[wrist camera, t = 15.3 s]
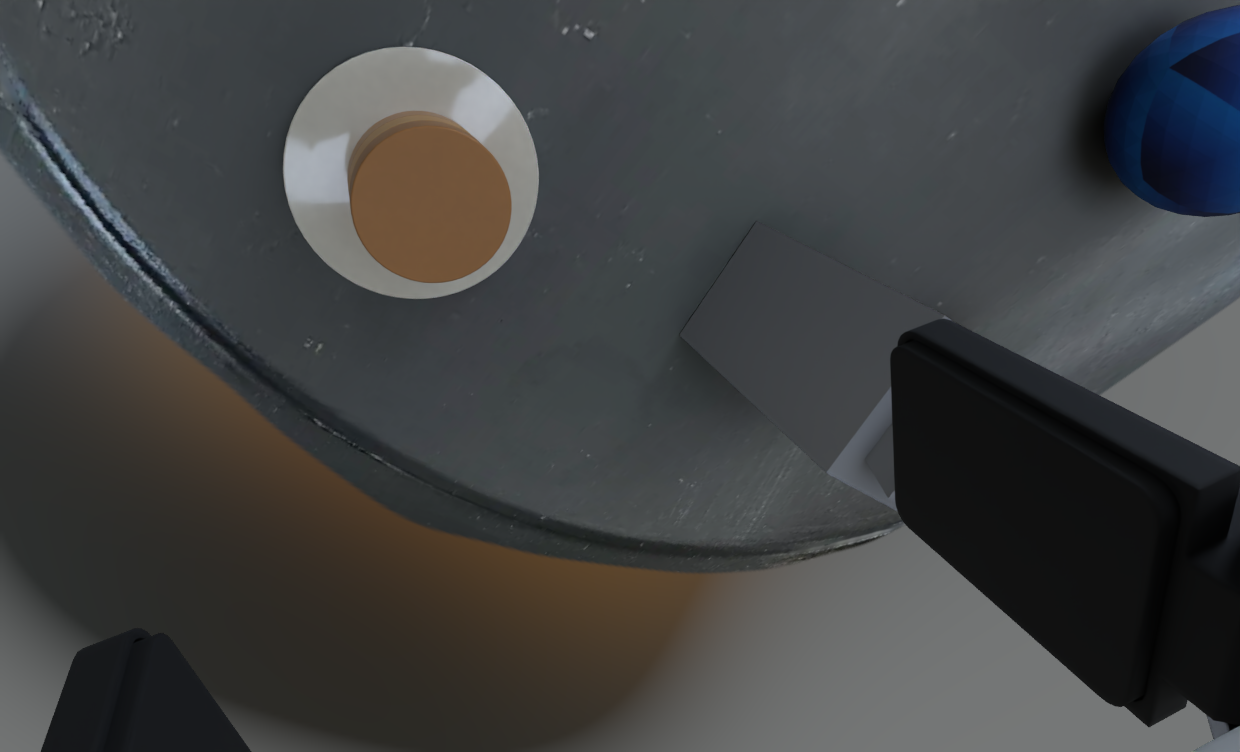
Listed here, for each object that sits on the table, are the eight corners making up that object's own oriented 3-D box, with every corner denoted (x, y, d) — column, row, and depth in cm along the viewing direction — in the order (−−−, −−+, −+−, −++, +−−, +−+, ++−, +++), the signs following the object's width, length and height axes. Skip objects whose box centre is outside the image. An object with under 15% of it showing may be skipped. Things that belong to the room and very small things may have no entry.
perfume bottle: (679, 335, 39) (906, 548, 24) (756, 220, 38) (1049, 367, 23) (770, 388, 43) (1021, 606, 27) (844, 285, 41) (1152, 451, 26)
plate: (234, 213, 30) (232, 217, 30) (368, -14, 29) (370, -14, 28) (453, 332, 35) (456, 339, 35) (579, 145, 34) (584, 148, 33)
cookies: (319, 203, 31) (318, 231, 27) (395, 79, 30) (406, 90, 26) (443, 275, 33) (458, 310, 29) (515, 164, 32) (541, 185, 29)
